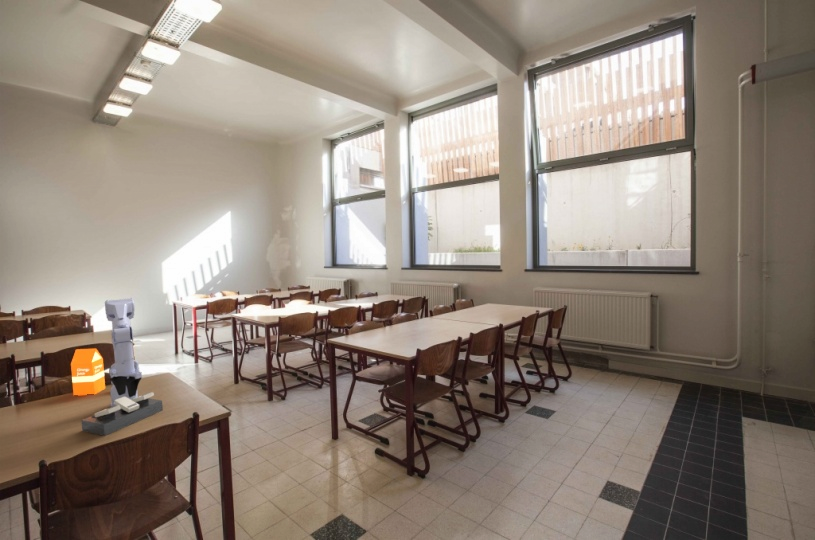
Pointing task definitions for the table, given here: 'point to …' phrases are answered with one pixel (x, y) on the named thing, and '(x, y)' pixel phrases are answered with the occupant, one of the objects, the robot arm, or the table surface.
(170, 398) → the table surface
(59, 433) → the table surface
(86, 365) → the orange juice
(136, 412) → the grey slab
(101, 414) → the rocker
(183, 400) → the table surface
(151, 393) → the white rectangular block
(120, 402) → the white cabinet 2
